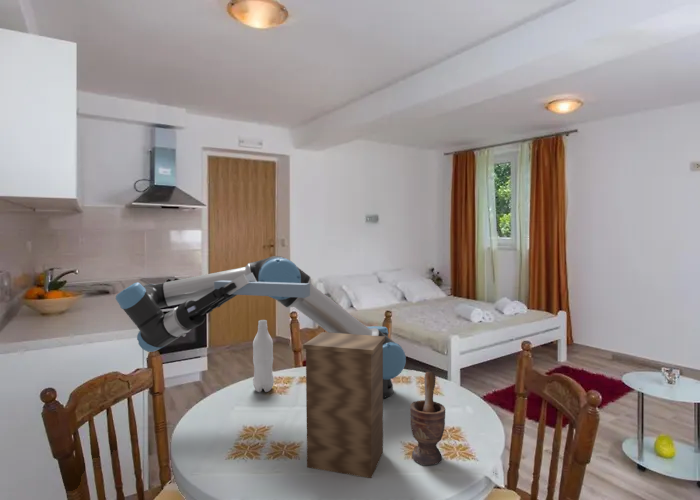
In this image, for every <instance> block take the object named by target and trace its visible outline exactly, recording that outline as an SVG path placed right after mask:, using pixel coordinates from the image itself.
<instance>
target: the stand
mask: <svg viewBox="0 0 700 500" xmlns="http://www.w3.org/2000/svg"><path fill="white" fill-rule="evenodd" d="M384 341H385V336H371V335H357V334H343V333H329V332H327V331H322V332H320V333H319V334H317V335H316V336H314V337H312V338H311V339H309V340H308V341H307V342H305V343H303V344H302V349H303V350H305V375H306V376H305V381H306V383H305V385H306V386H305V387H306V388H305V391H306V392H305V393H306V397H305V399H306V401H305V402H306V406H305V407H306V408H305V409H306V410H305V411H306V412H305V413H306V468H307V469H308V468H309V469H315V470H320V471H326V472H332V473H333V472H334V473H337V474H344V475H349V476H357V477H361V478H367V479H372V478H373V476H374V474H375V471H376V470H377V467H378V465H379V462H380V460H381V458H382V456H383V453H384V398H383V342H384Z"/></svg>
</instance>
